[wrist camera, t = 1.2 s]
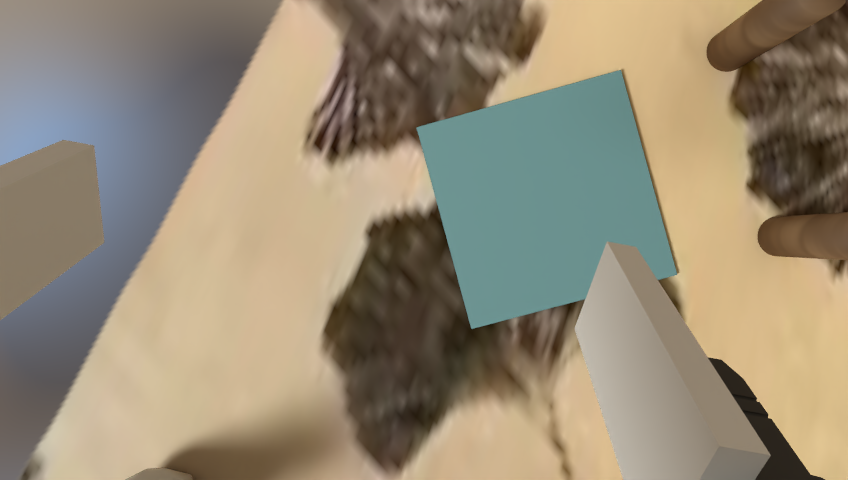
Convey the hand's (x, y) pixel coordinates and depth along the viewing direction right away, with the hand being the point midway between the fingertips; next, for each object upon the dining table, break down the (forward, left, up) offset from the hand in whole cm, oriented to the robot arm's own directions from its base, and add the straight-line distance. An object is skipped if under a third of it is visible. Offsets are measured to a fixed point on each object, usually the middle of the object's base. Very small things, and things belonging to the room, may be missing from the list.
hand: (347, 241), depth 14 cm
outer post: (+6, -23, -22) cm, 33 cm away
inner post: (-6, -23, -22) cm, 33 cm away
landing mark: (0, -9, -22) cm, 24 cm away
